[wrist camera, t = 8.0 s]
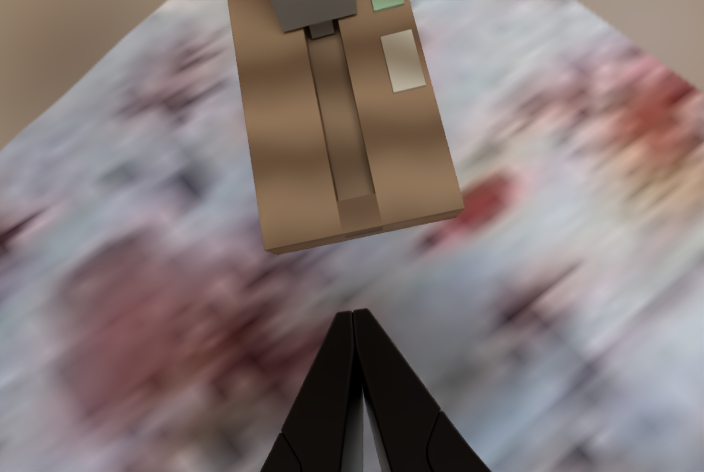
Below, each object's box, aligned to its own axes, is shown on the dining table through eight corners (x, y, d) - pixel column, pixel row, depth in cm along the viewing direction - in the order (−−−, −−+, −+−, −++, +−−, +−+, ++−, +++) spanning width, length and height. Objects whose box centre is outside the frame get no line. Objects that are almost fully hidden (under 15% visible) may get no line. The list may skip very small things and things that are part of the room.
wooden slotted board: (455, 217, 21) (465, 207, 19) (277, 254, 22) (263, 249, 19) (384, -56, 25) (384, -96, 23) (236, -16, 26) (219, -50, 23)
